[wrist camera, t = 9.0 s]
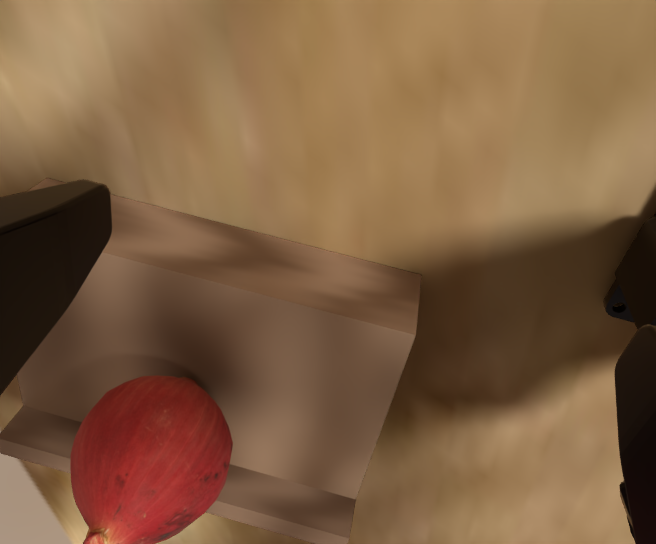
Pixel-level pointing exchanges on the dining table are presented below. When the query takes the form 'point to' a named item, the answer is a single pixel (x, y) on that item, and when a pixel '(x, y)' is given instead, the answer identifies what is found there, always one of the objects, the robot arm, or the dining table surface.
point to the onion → (149, 460)
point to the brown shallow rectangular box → (233, 358)
